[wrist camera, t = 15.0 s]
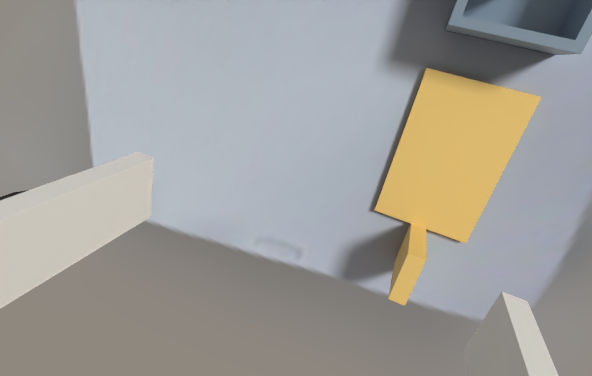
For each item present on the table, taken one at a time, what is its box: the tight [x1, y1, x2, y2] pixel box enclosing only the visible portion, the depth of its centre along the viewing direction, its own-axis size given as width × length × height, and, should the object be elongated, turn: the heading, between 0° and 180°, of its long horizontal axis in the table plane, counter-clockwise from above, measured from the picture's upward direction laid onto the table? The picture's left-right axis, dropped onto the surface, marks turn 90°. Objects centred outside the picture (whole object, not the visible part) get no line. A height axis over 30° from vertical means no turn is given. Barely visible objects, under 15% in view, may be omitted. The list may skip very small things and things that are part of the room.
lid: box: [375, 68, 541, 306], centre depth 35 cm, size 11×23×8 cm, turn 166°
